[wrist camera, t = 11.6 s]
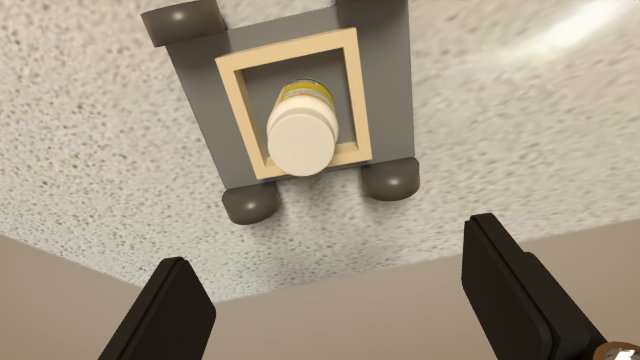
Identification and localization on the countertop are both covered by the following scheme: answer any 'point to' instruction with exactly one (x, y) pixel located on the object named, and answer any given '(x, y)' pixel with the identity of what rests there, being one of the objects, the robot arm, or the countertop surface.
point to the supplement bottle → (302, 128)
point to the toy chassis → (283, 67)
